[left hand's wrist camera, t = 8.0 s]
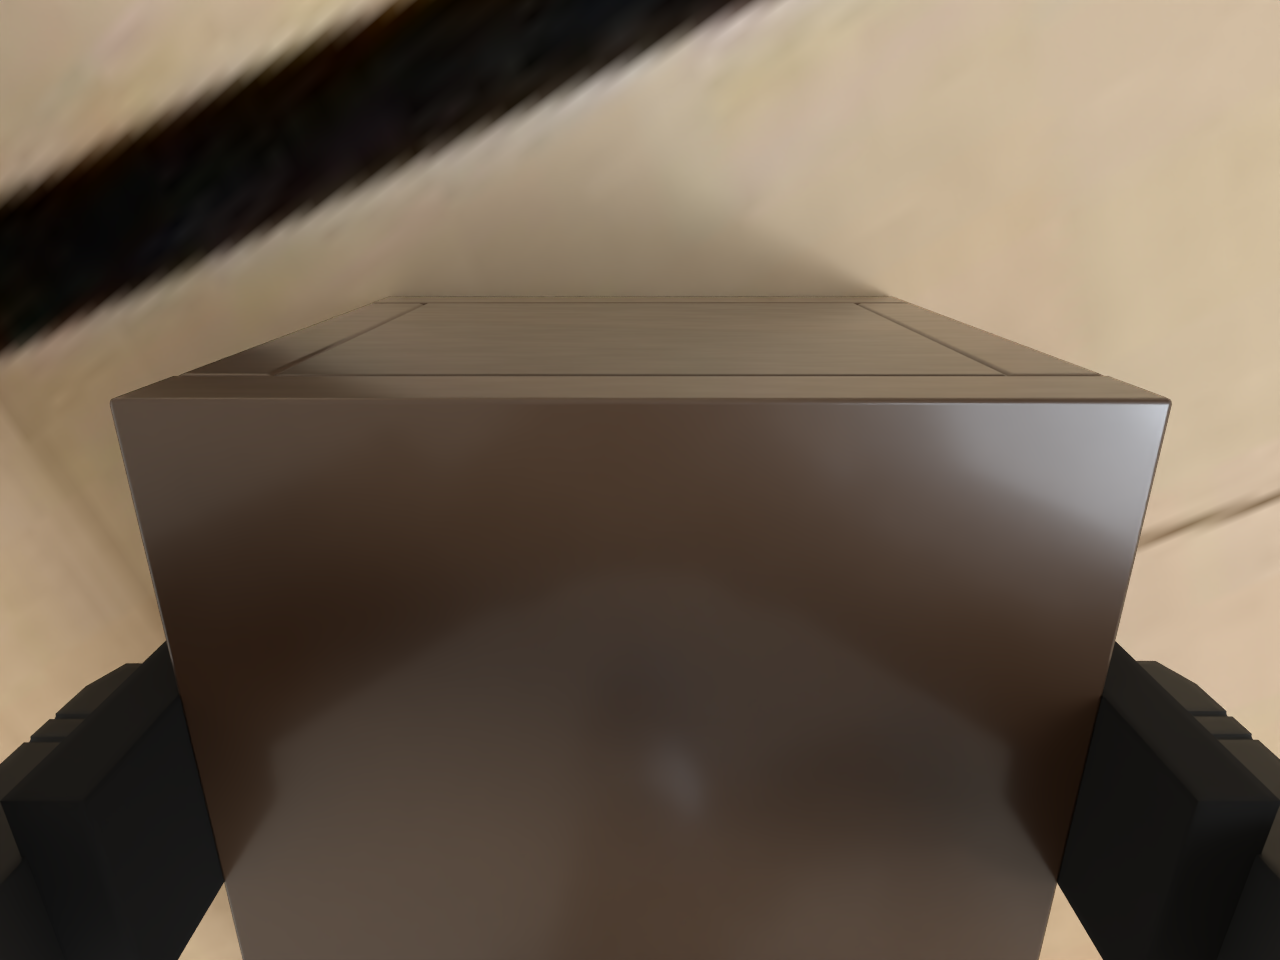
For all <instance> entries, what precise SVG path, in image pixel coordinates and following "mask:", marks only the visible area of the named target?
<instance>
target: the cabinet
mask: <svg viewBox="0 0 1280 960" xmlns="http://www.w3.org/2000/svg"><path fill="white" fill-rule="evenodd" d="M1171 405H1172V403H1171V400H1170V399H1168V398H1166V397H1163V396H1161V395H1158V394H1155V393H1152V392H1150V391H1147V390H1144V389H1142V388H1139V387H1136V386H1134V385H1131V384H1128V383H1125V382H1123V381H1120V380H1117V379H1115V378H1112V377H1109V376H1103V375H1101V374H1099V373H1096V372H1093V371H1091V370H1088V369H1085V368H1083V367H1080V366H1077V365H1074V364H1072V363H1069V362H1066V361H1064V360H1061V359H1058V358H1056V357H1053V356H1050V355H1048V354H1045V353H1042V352H1040V351H1037V350H1034V349H1032V348H1029V347H1026V346H1024V345H1021V344H1018V343H1015V342H1013V341H1010V340H1007V339H1005V338H1002V337H999V336H997V335H994V334H991V333H989V332H986V331H983V330H981V329H978V328H975V327H973V326H970V325H967V324H965V323H962V322H959V321H956V320H954V319H951V318H948V317H946V316H943V315H940V314H938V313H935V312H932V311H930V310H927V309H924V308H922V307H919V306H916V305H914V304H911V303H908V302H906V301H903V300H900V299H898V298H895V297H387V298H384V299H381V300H379V301H376V302H373V303H371V304H368V305H366V306H363V307H360V308H358V309H355V310H352V311H350V312H347V313H344V314H342V315H339V316H336V317H334V318H331V319H328V320H326V321H323V322H320V323H318V324H315V325H312V326H310V327H307V328H304V329H302V330H299V331H296V332H294V333H291V334H288V335H286V336H283V337H280V338H277V339H275V340H272V341H269V342H267V343H264V344H261V345H259V346H256V347H253V348H251V349H248V350H245V351H243V352H240V353H237V354H235V355H232V356H229V357H227V358H224V359H221V360H219V361H216V362H213V363H211V364H208V365H205V366H203V367H200V368H197V369H194V370H192V371H189V372H186V373H184V374H182V375H179V376H172V377H170V378H167V379H164V380H162V381H159V382H156V383H154V384H151V385H148V386H145V387H143V388H140V389H137V390H135V391H132V392H129V393H127V394H124V395H121V396H119V397H116V398H114V399H112V400H111V401H110V407H111V411H112V416H113V420H114V424H115V428H116V432H117V436H118V441H119V445H120V449H121V453H122V457H123V461H124V466H125V470H126V474H127V478H128V482H129V486H130V491H131V495H132V499H133V503H134V507H135V512H136V516H137V520H138V524H139V528H140V532H141V537H142V541H143V545H144V549H145V553H146V557H147V562H148V566H149V570H150V574H151V578H152V582H153V587H154V591H155V595H156V599H157V603H158V607H159V612H160V616H161V620H162V624H163V628H164V633H165V637H166V641H167V645H168V649H169V653H170V658H171V662H172V666H173V670H174V674H175V678H176V683H177V687H178V691H179V695H180V699H181V703H182V708H183V712H184V716H185V720H186V724H187V729H188V733H189V737H190V741H191V745H192V749H193V754H194V758H195V762H196V766H197V770H198V774H199V779H200V783H201V787H202V791H203V795H204V799H205V804H206V808H207V812H208V816H209V820H210V825H211V829H212V833H213V837H214V841H215V845H216V850H217V854H218V858H219V862H220V866H221V870H222V875H223V879H224V883H225V887H226V891H227V895H228V900H229V904H230V908H231V912H232V916H233V921H234V925H235V929H236V933H237V937H238V941H239V946H240V950H241V954H242V958H243V960H1039V956H1040V952H1041V948H1042V943H1043V939H1044V935H1045V931H1046V927H1047V923H1048V918H1049V914H1050V910H1051V906H1052V902H1053V898H1054V893H1055V889H1056V885H1057V881H1058V877H1059V873H1060V868H1061V864H1062V860H1063V856H1064V852H1065V847H1066V843H1067V839H1068V835H1069V831H1070V827H1071V822H1072V818H1073V814H1074V810H1075V806H1076V802H1077V797H1078V793H1079V789H1080V785H1081V781H1082V777H1083V772H1084V768H1085V764H1086V760H1087V756H1088V752H1089V747H1090V743H1091V739H1092V735H1093V731H1094V727H1095V722H1096V718H1097V714H1098V710H1099V706H1100V701H1101V697H1102V693H1103V689H1104V685H1105V681H1106V676H1107V672H1108V668H1109V664H1110V660H1111V656H1112V651H1113V647H1114V643H1115V639H1116V635H1117V631H1118V626H1119V622H1120V618H1121V614H1122V610H1123V606H1124V601H1125V597H1126V593H1127V589H1128V585H1129V581H1130V576H1131V572H1132V568H1133V564H1134V560H1135V555H1136V551H1137V547H1138V543H1139V539H1140V535H1141V530H1142V526H1143V522H1144V518H1145V514H1146V510H1147V505H1148V501H1149V497H1150V493H1151V489H1152V485H1153V480H1154V476H1155V472H1156V468H1157V464H1158V460H1159V455H1160V451H1161V447H1162V443H1163V439H1164V434H1165V430H1166V426H1167V422H1168V418H1169V414H1170V409H1171Z"/></svg>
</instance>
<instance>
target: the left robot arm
mask: <svg viewBox="0 0 1280 960" xmlns="http://www.w3.org/2000/svg"><path fill="white" fill-rule="evenodd" d="M1251 735H1252V734H1251V733H1250V732H1249V731H1248V730H1247V729H1246V728H1244V727H1243V726H1242V725H1241V724H1240V723H1239V722H1238V721H1237V720H1236V719H1234V718H1233V717H1228V716H1227V714H1226V710H1224V709H1223V708H1222V707H1221V706H1220V705H1219V704H1218V703H1217V702H1216V701H1214V700H1213V699H1212V698H1211V697H1210V696H1209V695H1208V694H1207V693H1206V692H1204V691H1203V690H1202V689H1201V688H1200V687H1199V686H1198V685H1197V684H1195V683H1193V682H1192V681H1190V680H1188V679H1186V678H1185V677H1183V676H1181V675H1179V674H1178V673H1176V672H1174V671H1172V670H1170V669H1169V668H1167V667H1165V666H1163V665H1162V664H1160V663H1158V662H1156V661H1135V660H1134V659H1133V658H1132V657H1131V656H1130V655H1129V654H1128V653H1127V652H1126V651H1125V650H1124V649H1123V648H1122V647H1121V646H1120V645H1119V644H1118V643H1117V642H1116V641H1115V643H1114V647H1113V651H1112V656H1111V660H1110V664H1109V668H1108V672H1107V676H1106V681H1105V685H1104V689H1103V693H1102V697H1101V701H1100V706H1099V710H1098V714H1097V718H1096V722H1095V727H1094V731H1093V735H1092V739H1091V743H1090V747H1089V752H1088V756H1087V760H1086V764H1085V768H1084V772H1083V777H1082V781H1081V785H1080V789H1079V793H1078V797H1077V802H1076V806H1075V810H1074V814H1073V818H1072V822H1071V827H1070V831H1069V835H1068V839H1067V843H1066V847H1065V852H1064V856H1063V860H1062V864H1061V868H1060V873H1059V877H1058V881H1057V883H1058V885H1059V886H1060V888H1061V890H1062V892H1063V893H1064V895H1065V897H1066V898H1067V900H1068V902H1069V903H1070V905H1071V907H1072V908H1073V910H1074V912H1075V913H1076V915H1077V917H1078V918H1079V920H1080V922H1081V923H1082V925H1083V927H1084V928H1085V930H1086V932H1087V934H1088V935H1089V937H1090V939H1091V940H1092V942H1093V944H1094V945H1095V947H1096V949H1097V950H1098V952H1099V954H1100V955H1101V957H1102V959H1103V960H1280V759H1279V758H1278V757H1277V756H1275V755H1274V754H1273V753H1272V752H1271V751H1270V750H1269V749H1268V748H1267V747H1266V746H1264V745H1263V744H1262V743H1261V742H1260V741H1259V740H1253V739H1252V736H1251ZM223 883H224V879H223V875H222V870H221V866H220V862H219V858H218V854H217V850H216V845H215V841H214V837H213V833H212V829H211V825H210V820H209V816H208V812H207V808H206V804H205V799H204V795H203V791H202V787H201V783H200V779H199V774H198V770H197V766H196V762H195V758H194V754H193V749H192V745H191V741H190V737H189V733H188V729H187V724H186V720H185V716H184V712H183V708H182V703H181V699H180V695H179V691H178V687H177V683H176V678H175V674H174V670H173V666H172V662H171V658H170V653H169V649H168V645H167V641H165V642H164V643H163V644H162V645H161V646H160V647H159V648H158V649H157V650H156V651H155V652H154V653H153V654H152V655H151V656H150V657H149V658H148V659H147V660H146V661H145V662H143V663H126V664H125V665H123V666H121V667H119V668H117V669H116V670H114V671H112V672H110V673H109V674H107V675H105V676H103V677H102V678H100V679H98V680H96V681H95V682H93V683H91V684H89V685H88V686H86V687H85V688H84V689H82V690H81V691H80V692H79V693H78V694H77V695H76V696H75V697H74V698H73V699H71V700H70V701H69V702H68V703H67V704H66V705H65V706H64V707H63V708H62V709H60V710H59V711H58V712H57V713H56V717H55V719H49V720H48V721H47V722H46V723H45V724H44V725H43V726H42V727H41V728H39V729H38V730H37V731H36V732H35V733H34V734H33V735H32V736H31V740H30V742H29V743H23V744H22V745H21V746H20V747H19V748H17V749H16V750H15V751H14V752H13V753H12V754H11V755H10V756H9V757H8V758H6V759H5V760H4V761H3V762H2V763H1V764H0V960H178V958H179V957H180V955H181V953H182V952H183V950H184V948H185V947H186V945H187V943H188V942H189V940H190V938H191V937H192V935H193V933H194V932H195V930H196V928H197V927H198V925H199V923H200V922H201V920H202V918H203V916H204V915H205V913H206V911H207V910H208V908H209V906H210V905H211V903H212V901H213V900H214V898H215V896H216V895H217V893H218V891H219V890H220V888H221V886H222V885H223Z"/></svg>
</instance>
